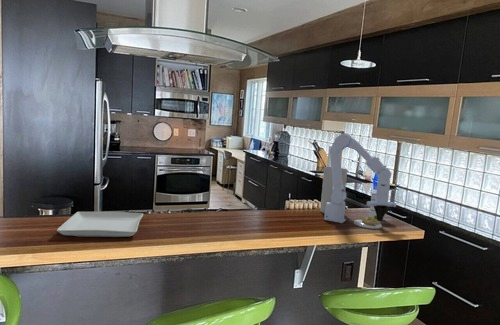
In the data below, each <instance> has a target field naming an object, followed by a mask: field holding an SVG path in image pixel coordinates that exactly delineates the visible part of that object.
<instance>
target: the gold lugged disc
mask: <svg viewBox="0 0 500 325" xmlns="http://www.w3.org/2000/svg"><path fill="white" fill-rule="evenodd" d="M361 220H362V222H363V223H366V224H374V223H380V224H381V223H382V221H378V220H377V215H374V217H373V219H372V217H369V216H368V217H366V216H362V218H361Z"/></svg>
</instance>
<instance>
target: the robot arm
mask: <svg viewBox="0 0 500 325" xmlns="http://www.w3.org/2000/svg"><path fill="white" fill-rule="evenodd" d="M346 148H349V149H353V150H354V151H356V152H357V153H358V154H359V155H360V157H362V158H363V159H364V160H365V165H366V166H367V167H368V168H369V169H370V170H371V171H372V172H373V173H374V174H375V175H377V178H378V179H377V183H376V191H375V192H376V200H375V201H371V200H370V201H366V206H367V207H370V206H374V209H375V211H376V215H377V220H378V221H381V222H382V221H383V219H384V217H385V215H386V213H387V212H388V211H389V207H390V208H391V207H394V208H396V207H397V202H394V201H393V202H392V201H389V195H390V189H391V188H390V187H391V185H390V183H391V180H390V179H391V178H392V172H391V170H390V169H389V168H388V167H387V165H386V164H385V165H384V163H382V162H381V160H380V158H379V157H377V156H372V155H370V153H369V152H368V151H367V150H366V149H365V148H364V147H363V146H362V145H361V143H360V142H359V141H358V140H356V139H355V138H353V137H352V135H350V134H348V133H340V134H339V135H338V136H337V137H335V138H334V141H333V143H332V145H331V147H330V148H329V157H330V167H331V170H332V180H333V188H332V195H331V200H332V201H331V202H327V204H326V207H325V213H324V217H323V218H324V219H323V220H325V221H329V222H335V223H339V224H343V223H344V222H345V221H347V219H346V218H345V212H346V202H345V200H346V199H347V197H348V196H347V192H346V189H345V190H344V186H343V181H342V170H341V168H342V161H341V160H342V159H341V153H342V152H343V150H344V149H346Z"/></svg>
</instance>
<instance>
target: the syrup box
mask: <svg viewBox="0 0 500 325" xmlns="http://www.w3.org/2000/svg"><path fill="white" fill-rule="evenodd" d="M375 200H376V191H373V192H371V195H370V201H375ZM374 215H376V211H375V209H374V206H369V216H368V217H372V219H373V217H374Z"/></svg>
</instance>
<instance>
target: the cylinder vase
mask: <svg viewBox="0 0 500 325" xmlns="http://www.w3.org/2000/svg"><path fill="white" fill-rule="evenodd" d="M341 170H342V181H343V186H344V190H345V191H346V186H347V179H348V178H347V177H348V169H347V168H344V167H343V168H342V167H341ZM321 188H322V189H321V196H320V197H321V200H320V209H319V210H320V212H321V213H322V214H325V207H326V204H327V202H331V201H332V200H331V195H332V188H333V180H332V170H331V166H324V167H323V176H322V186H321Z"/></svg>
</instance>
